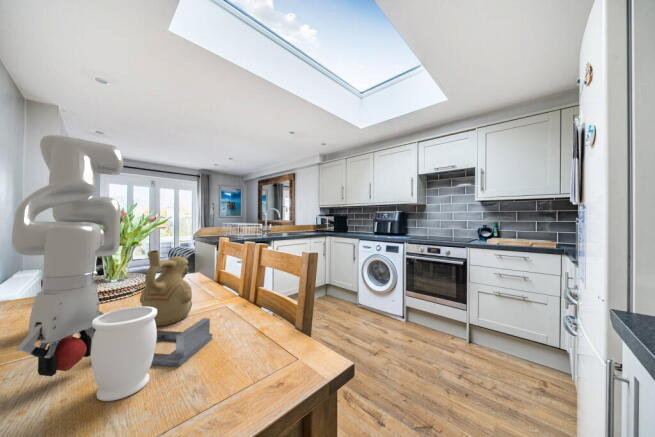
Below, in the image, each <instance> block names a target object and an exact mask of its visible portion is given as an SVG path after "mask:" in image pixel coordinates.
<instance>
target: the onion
mask: <svg viewBox="0 0 655 437" xmlns="http://www.w3.org/2000/svg"><path fill="white" fill-rule="evenodd" d="M79 338H80V337H75V336H74V334H73V335H71V336H68V337H66V338H64V339H61V340H59V342H58V345H57V347H56V349H55V352H54V354H53V355H57V371H62V372H67V371H69V370H71V369H72V368H73V367H74V366H75V365H77V364H78V363H79V362H80V361H81V360H83V358H84V357H83V356H84V355H85V353H86V349H87V348H86V345H85V343H84V342H83V341H82V340H81V339H79Z"/></svg>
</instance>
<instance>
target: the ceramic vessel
mask: <svg viewBox="0 0 655 437" xmlns="http://www.w3.org/2000/svg"><path fill="white" fill-rule="evenodd" d="M147 256H148V259H149V267H148V269H147V270H146V274H145V276H144V277H145V278H144V281H145V285H146V286H145V287H144V288H143V290H142V291H141V294H140V297H139V303H141V306H149V307H155V308H156V309H157V315H156V316H155V317H154V320H155V323H156V327H160V326H168V325H172V324H175V323H178V322H179V321H182V320H183V319H185V318H186V317H187V316H188V314H189V313H190V312H191V309H192V307H193V306H192V305H193V301H192V298H193V293H192V292H193V291H192V286H191V285H190V283H189V282H187V281H186V280H185V279H184V278H185V277H186V276H187V274H188V272H189V267H190V266H188V264H189V260H188V259H187V258H185V257H183V256H179V255H177V256H173V257H169V258H168V259H162V260H161V258H160V250H156V249H155V250H150V251H148V252H147ZM159 270H160V272H161V273H160V274H159V275H158V276H157V273H158V271H159ZM156 276H157V277H156Z"/></svg>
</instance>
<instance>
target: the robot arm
mask: <svg viewBox="0 0 655 437" xmlns="http://www.w3.org/2000/svg"><path fill="white" fill-rule="evenodd" d="M39 147H40V153H41V155H42V158H43V161H44V164H46V167H47V168H48V170H49V177H48V184H47V185H46V186H44V187H41V188H39V189H37V190H35V191H34V192H32V193H31V194H29V195H28V196H27V197H26V198H25V199H23V200H22V201H21V203H20V204H19V205H18V206H17V209H16V210H15V213H14V214H15V215H14V217H13V218H14V220H13V224H12V225H13V226H12V232H11V245H12V246H11V247H12V248H13V250H14V251H15V252H16V253H18V254H19V255H22V256H28V257H33V256H43V272H42V274H43V275H42V276H43V277H42V291H39V292H37V293H36V296H35V298H34V300H33V304H32V308H31V311H30V315H29V316H30V317H29V321H28V322H29V323H28V330H27V331H28V332H27V333H28V334H27V336H26V337H25V338H24V339H23V341H21V343H20V344H19V345H17V347H16V351H18V352H21V353H25V354H28V355H30V356H33V357H35V358H37V359H38V360H37V374H38V375H39V376H42V377H43V376H45V377H53V376H55V375H56V374H57V371H58V370H57V355H53V354H54V352H55V349H56V347H57V345H58V342H59V341H60V340H61V339H64V338H66V337H68V336H71V335H73V336H74V335H75V334H77V335H78V338H79V339H81V340H82V341H83V342H84V343H85V345H86V348H87V349H86V353H85V355H84V356H83V358H89V357H91V345H92V340H93V336H94V333H95V331H96V329H94V328H93V327H92V323H93V320H94V319H95V318H97V317H99V316H101V315H103V314H105V313H104V312H102V311H100V300H99V299H100V298H99V297H100V296H99V292H98V287H97V284H96V283H95V277H97V276H98V271H95V263H96V261H95V260H96V259H95V258H97V257H110V256H113V255H115V254H117V252H118V251H119V249H120V245H121V242H120V241H121V207H120V206H121V205H120V203H119V202H118V201H117V199H115V198H113V197H108V196H98V195H96V196H94V195H95V193H96V190H97V181H96V180H97V177H96V174H101V175H110V176H118V175H120V174H121V173H122V172H123V169H124V156H123V154H122V152H121V150H120V149H119V148H118V147H117V146H115V145H112V144H107V143H102V142H97V141H92V140H85V139H81V138H77V137H71V136H65V135H56V134H54V135H53V134H51V135H45V136H43V137H41V139H40V143H39ZM51 208H52V210H51V211H52V212H51V213H52V217H53V219H54V221H35V219H36V217H37V216H38V215H39V214H40V213H42V212H44V211H46V210H48V209H51ZM101 227H102V228H101ZM37 342H39V343H38V345H36V343H37Z"/></svg>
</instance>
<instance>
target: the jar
mask: <svg viewBox="0 0 655 437" xmlns="http://www.w3.org/2000/svg"><path fill="white" fill-rule="evenodd" d="M156 315H157V309H156V308H155V307H149V306H142V305H140V306H133V307H132V306H131V307H126V308H120V309H116V310H113V311H112V310H111V311H108V312H105V313H104V314H103V315H101V316H99V317H97V318H95V319H94V320H93V323H92V327H93V328H94V329H96V331H95V333H94V336H93V338H92V345H91V356H90V360H91V361H90V362H91V368H92V370H93V371H92V372H93V378H94V380H95V383H96V385H97V386H98V387H99V388H98V389H97V392H96V398H97V400H100V401H103V402H113V401H117V400H121V399H124V398H126V397H128V396H132V395H134V394H135V393H137V392H139V391H140V390H142V389H143V388H145V387H146V385H147V384H148V383H149V382H150V378H151V376H150V374H149V373H148V372H149V370H150V369H151V366H152V365H151V364H152V360H153V356H154V353H155V350H156V346H157V344H156V339H157V331H158V329H157V326H156V323H155V320H154V317H155V316H156Z"/></svg>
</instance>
